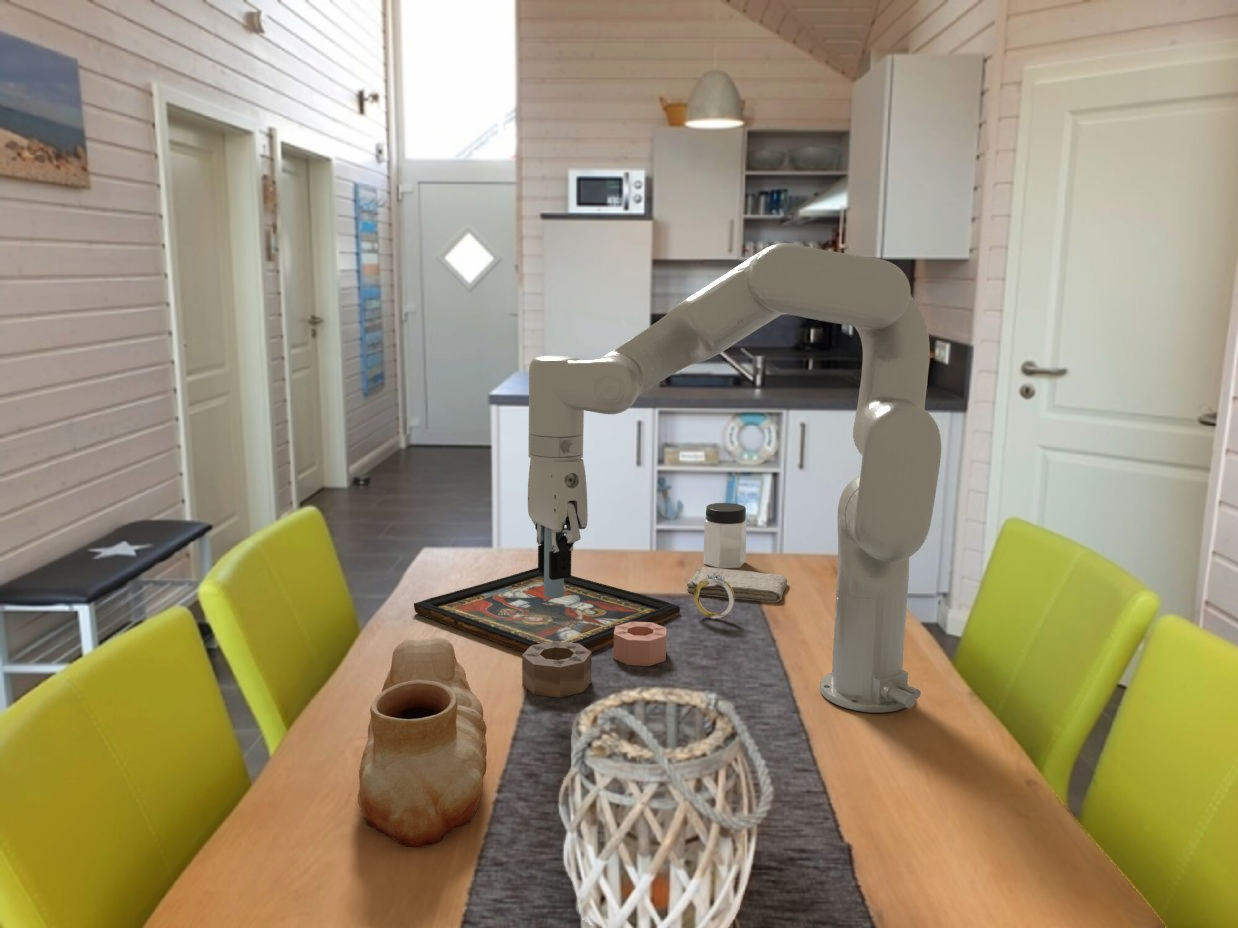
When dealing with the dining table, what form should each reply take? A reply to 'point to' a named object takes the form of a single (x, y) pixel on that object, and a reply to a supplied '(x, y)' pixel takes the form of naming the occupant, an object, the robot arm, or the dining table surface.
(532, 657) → the bead
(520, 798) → the dining table surface
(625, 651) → the pink octagonal nut
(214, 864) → the dining table surface
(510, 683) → the dining table surface
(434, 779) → the ceramic vessel
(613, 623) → the religious icon
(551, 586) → the dowel
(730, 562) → the jar
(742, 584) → the washcloth
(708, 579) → the ring
